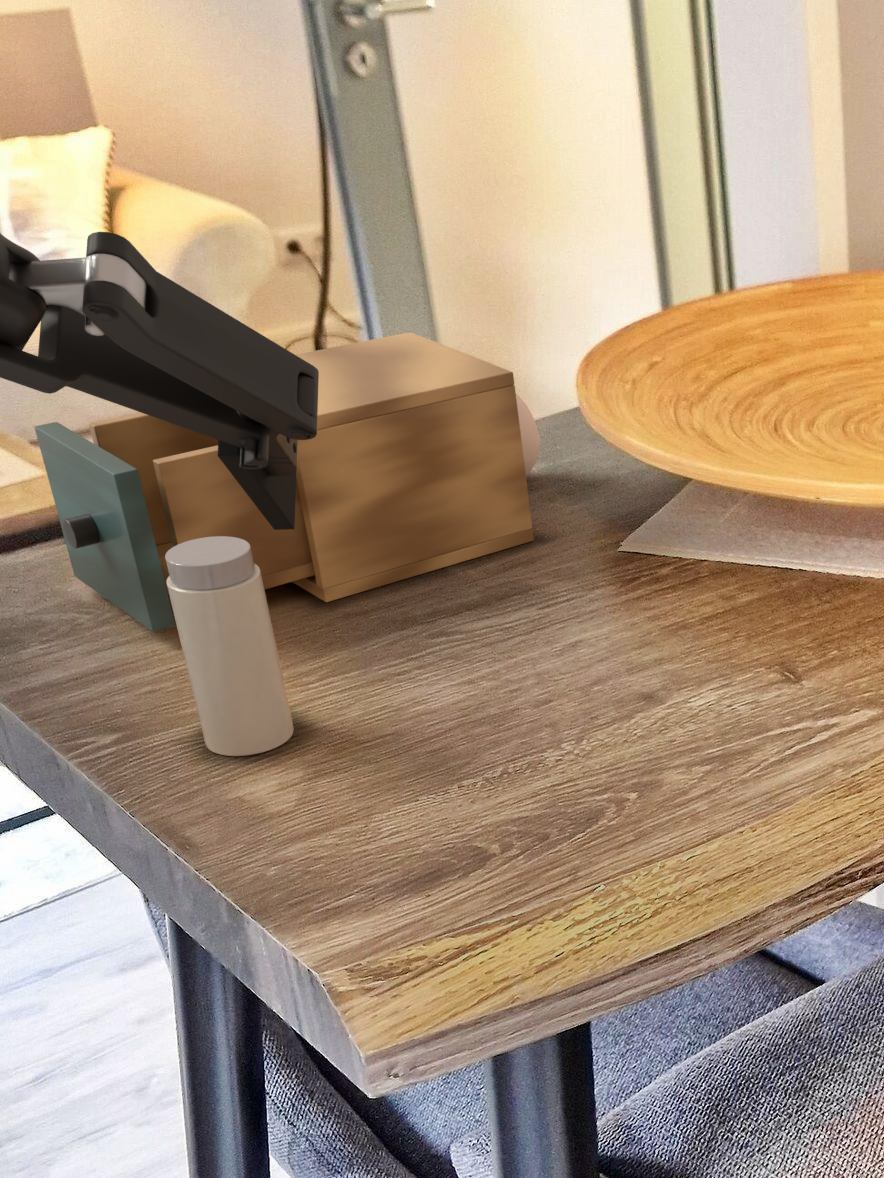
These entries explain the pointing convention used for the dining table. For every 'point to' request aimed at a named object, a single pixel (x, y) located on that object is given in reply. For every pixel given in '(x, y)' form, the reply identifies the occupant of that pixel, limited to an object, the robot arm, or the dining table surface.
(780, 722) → the dining table surface
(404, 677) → the dining table surface
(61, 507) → the drawer
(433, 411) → the cabinet
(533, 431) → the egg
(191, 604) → the salt shaker
